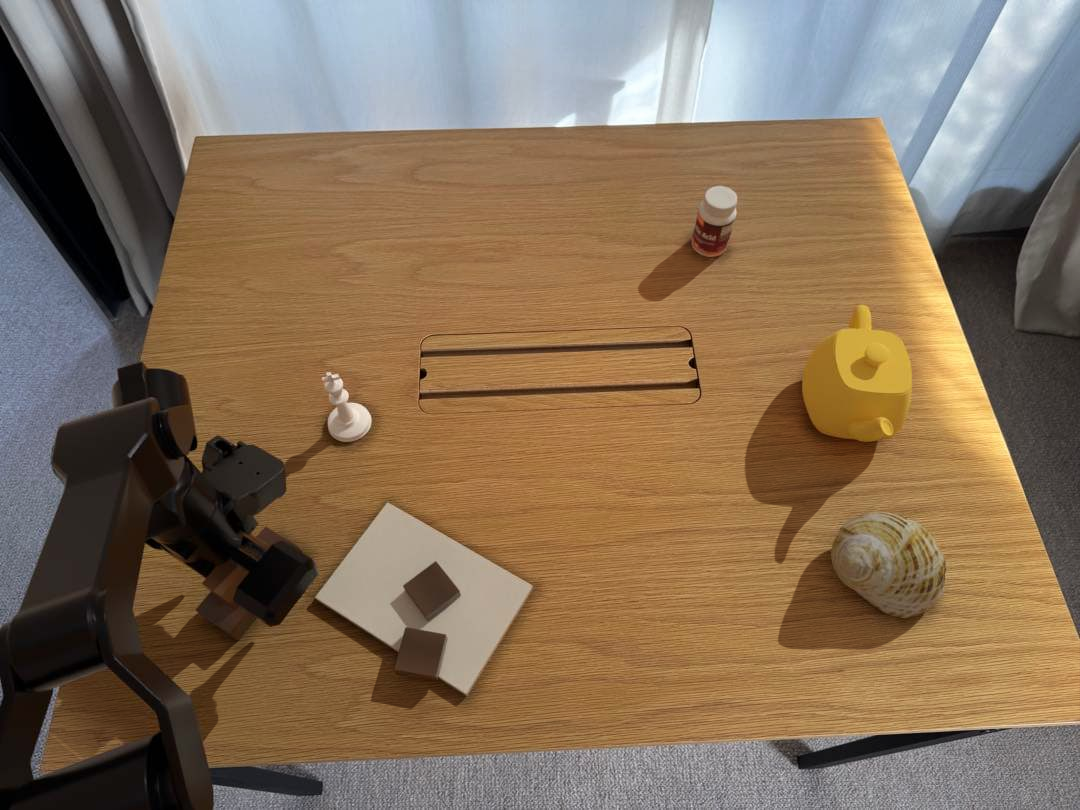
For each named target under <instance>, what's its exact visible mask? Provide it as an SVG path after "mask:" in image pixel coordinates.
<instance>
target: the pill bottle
mask: <svg viewBox="0 0 1080 810" xmlns="http://www.w3.org/2000/svg"><path fill="white" fill-rule="evenodd" d="M702 200H703V201H702V202H701V203H700V205H699V207H698V211H697V215H696V219H695V224H694V229H693V233H692V237H691V246H692V248H693V250H694V251H695V252H696V253H697V254H699V255H700V256H703V257H707V258H714V257H718V256H721V255H723V254H724V253H725V252H726V251H727V248H728V245H729V242H730V238H731V235H732V232H733V228H734V226H735V221H736V218H737V214H738V213H737V203H738V194H737V193H736V192H735V191H734V190H733V189H732V188H730V187H727V186H725V185H724V186H723V185H716V186H712V187H710V188H708V189H707V190H706V191H705V194H704V197H703V199H702Z"/></svg>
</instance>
